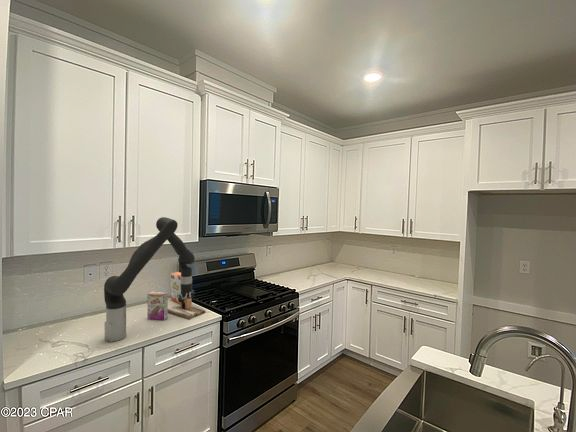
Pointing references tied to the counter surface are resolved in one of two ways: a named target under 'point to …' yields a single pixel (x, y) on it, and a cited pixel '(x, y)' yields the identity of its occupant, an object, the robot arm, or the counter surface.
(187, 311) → the board
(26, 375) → the counter surface
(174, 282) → the cracker box
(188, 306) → the tan block
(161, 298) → the candy bar box
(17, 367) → the counter surface
